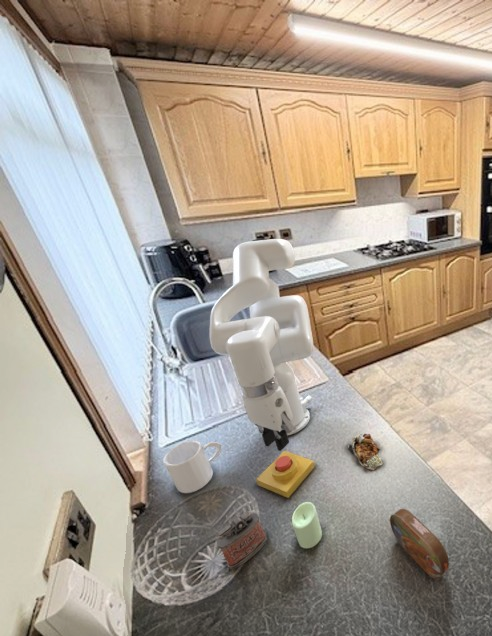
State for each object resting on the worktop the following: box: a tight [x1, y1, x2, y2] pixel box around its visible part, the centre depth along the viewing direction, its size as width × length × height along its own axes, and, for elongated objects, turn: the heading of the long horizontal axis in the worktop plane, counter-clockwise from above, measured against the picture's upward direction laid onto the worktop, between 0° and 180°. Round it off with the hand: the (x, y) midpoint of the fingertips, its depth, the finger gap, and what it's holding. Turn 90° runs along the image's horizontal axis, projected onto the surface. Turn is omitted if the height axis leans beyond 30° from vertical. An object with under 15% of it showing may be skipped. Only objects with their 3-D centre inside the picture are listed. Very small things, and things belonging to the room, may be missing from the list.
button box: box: [255, 450, 316, 499], centre depth 90 cm, size 10×10×4 cm
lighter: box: [216, 510, 268, 570], centre depth 71 cm, size 8×3×10 cm, turn 141°
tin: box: [389, 508, 450, 580], centre depth 70 cm, size 15×3×8 cm, turn 45°
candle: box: [291, 501, 323, 549], centre depth 74 cm, size 5×5×8 cm
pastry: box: [347, 433, 384, 471], centre depth 95 cm, size 7×12×4 cm, turn 39°
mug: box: [162, 440, 222, 494], centre depth 89 cm, size 8×12×10 cm
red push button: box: [275, 456, 292, 472], centre depth 88 cm, size 4×4×2 cm
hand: (277, 444), depth 86 cm, fingers open, 3 cm apart
